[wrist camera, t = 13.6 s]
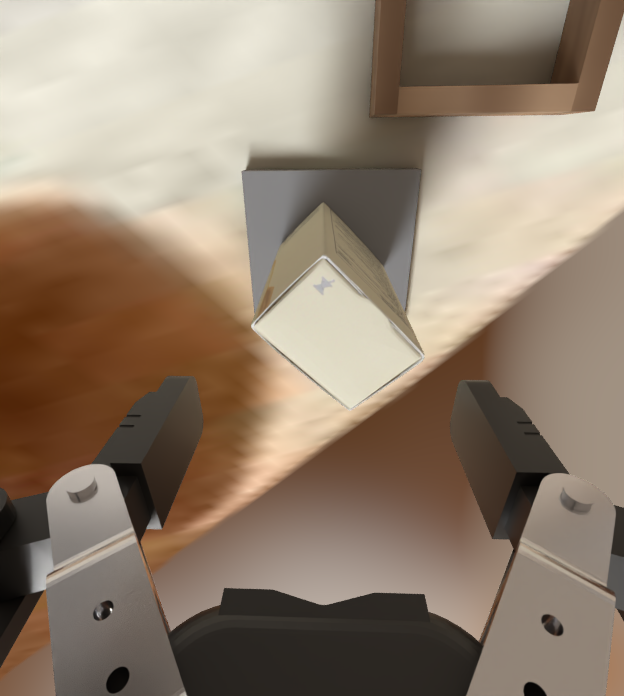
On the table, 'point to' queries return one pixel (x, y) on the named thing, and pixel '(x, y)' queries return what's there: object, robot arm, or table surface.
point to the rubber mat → (345, 201)
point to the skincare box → (335, 312)
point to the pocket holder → (498, 100)
